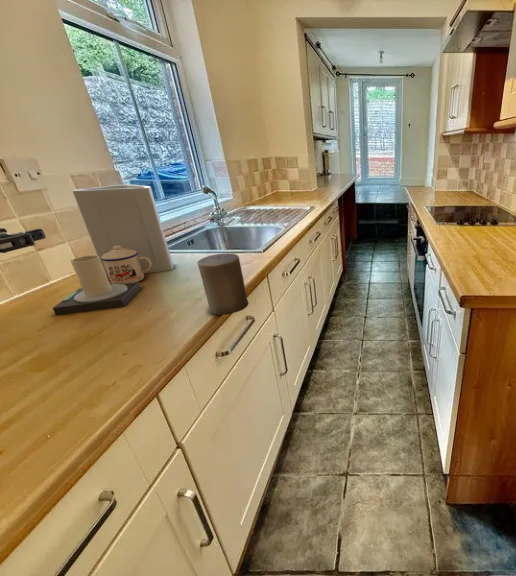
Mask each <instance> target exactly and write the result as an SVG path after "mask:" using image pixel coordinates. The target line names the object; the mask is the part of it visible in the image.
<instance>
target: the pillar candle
mask: <svg viewBox="0 0 516 576" xmlns="http://www.w3.org/2000/svg"><path fill="white" fill-rule="evenodd" d="M197 266H198V270H199V274H200V277H201V281H202V286H203V290H204V294H205V297H206V300H207V305H208V308H209V309H208V310H209V311H210V312H211V313H212V314H214V315H217V316H223V315H231V314H234V313H235V314H236V313H238V312H241V311H243V310H244V309H246V308H247V307H248V306H249V300H248V294H247V291H246V285H245V281H244V280H245V279H244V276H243V270H242V265H241V261H240V257H239V255H238V254H235V253H224V252H223V253H216V254H211V255H207V256H204V257H202V258H200V259H199V260H198V261H197Z"/></svg>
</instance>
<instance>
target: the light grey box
mask: <svg viewBox="0 0 516 576" xmlns="http://www.w3.org/2000/svg"><path fill="white" fill-rule="evenodd" d="M72 194H73V196H74V198H75V202H76V204H77V207H78V209H79V211H80V214H81V216H82V220H83V222H84V224H85V227H86V230H87V233H88V235H89V237H90V240H91V242H92V245H93V247H94V250H95V253H96V255H98V256H99V257H100V259H101V257H102V255H104V254H106V253H108V252H109V251H111V250H113V246H117V245H119V246H121V248H125V249H128V250H135V251H136V252H137V253H138V254H137V256H138V257H147V258H149V259H150V260H151V268H150V269H149V270H148V271H146V272H143V274H151V273H158V272H164V271H165V272H166V271H172V270H173V269H174V262H173V260H172V255H171V253H170V249H169V245H168V242H167V239H166V235H165V232H164V228H163V224H162V221H161V217H160V214H159V210H158V207H157V205H156V200H155V197H154V194H153V190H152V186H151V185H140V184H113V185H105V186H95V187H85V188H77V189H73V190H72ZM101 262H102V264H103V267H104V270H105V272H106V275H107V277H108V279H110V277H109V275H108V272H107V270H106V267H105V264H104V262H103V260H102V259H101ZM139 262H140V265H141V268H142V270H143V269H146V268H148V266H149V263H148V261H147V260H144V259H140V260H139Z"/></svg>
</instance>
